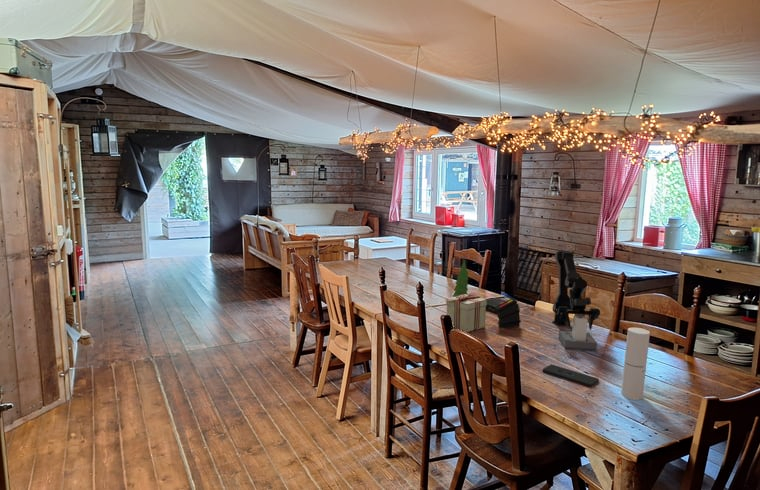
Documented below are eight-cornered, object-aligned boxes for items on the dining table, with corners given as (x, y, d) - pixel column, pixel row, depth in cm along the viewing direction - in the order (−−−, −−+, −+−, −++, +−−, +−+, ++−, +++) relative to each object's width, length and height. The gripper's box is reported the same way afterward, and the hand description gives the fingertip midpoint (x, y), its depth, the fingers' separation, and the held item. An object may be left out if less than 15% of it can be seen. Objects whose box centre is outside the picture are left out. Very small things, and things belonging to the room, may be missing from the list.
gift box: (458, 319, 275) (459, 288, 272) (486, 327, 262) (488, 295, 259) (438, 325, 263) (439, 293, 260) (467, 334, 250) (469, 300, 247)
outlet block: (558, 338, 246) (558, 330, 246) (588, 340, 245) (588, 332, 244) (564, 349, 233) (565, 340, 232) (596, 351, 231) (597, 342, 230)
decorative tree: (468, 312, 288) (471, 260, 283) (452, 311, 288) (454, 260, 283) (466, 307, 297) (469, 257, 292) (450, 307, 297) (452, 257, 293)
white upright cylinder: (571, 342, 239) (573, 312, 237) (582, 342, 239) (584, 313, 236) (573, 345, 234) (576, 315, 232) (585, 346, 234) (587, 316, 231)
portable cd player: (518, 310, 295) (519, 304, 294) (498, 315, 285) (498, 308, 285) (497, 303, 308) (498, 297, 308) (477, 307, 299) (477, 301, 298)
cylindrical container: (617, 391, 190) (623, 327, 186) (635, 391, 190) (642, 327, 186) (628, 400, 183) (635, 334, 179) (646, 399, 183) (654, 333, 179)
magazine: (525, 323, 263) (516, 299, 260) (504, 335, 261) (494, 311, 258) (522, 321, 267) (512, 297, 263) (501, 333, 265) (491, 308, 261)
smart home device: (551, 363, 212) (599, 378, 198) (551, 367, 212) (599, 382, 198) (542, 368, 206) (590, 384, 192) (541, 372, 206) (590, 388, 192)
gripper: (559, 289, 237) (563, 319, 228) (601, 292, 235) (606, 322, 226) (555, 301, 246) (558, 330, 237) (594, 303, 244) (599, 333, 235)
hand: (580, 328), depth 234 cm, fingers open, 9 cm apart
